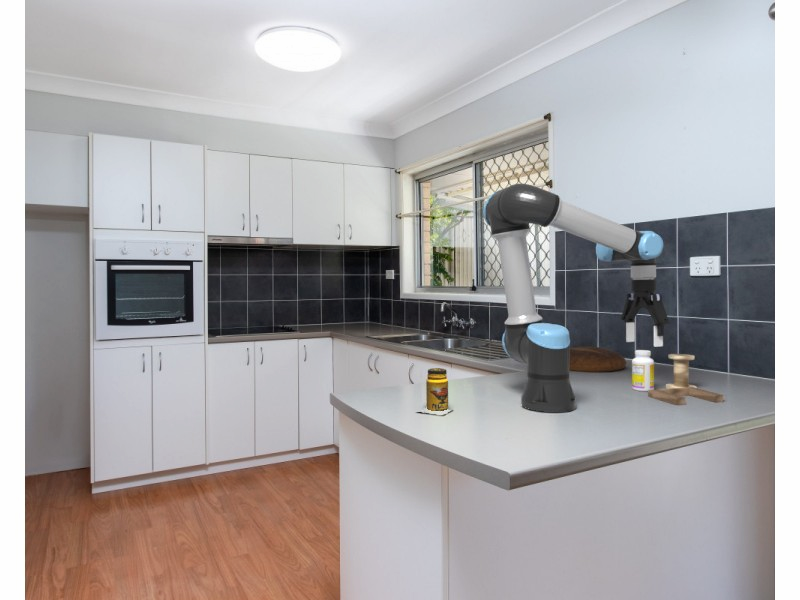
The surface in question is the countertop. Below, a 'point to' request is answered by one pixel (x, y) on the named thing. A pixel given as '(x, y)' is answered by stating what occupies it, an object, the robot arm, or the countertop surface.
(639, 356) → the supplement bottle
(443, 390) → the condiment
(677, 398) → the notch board
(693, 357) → the bobbin
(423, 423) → the countertop surface
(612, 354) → the bread
